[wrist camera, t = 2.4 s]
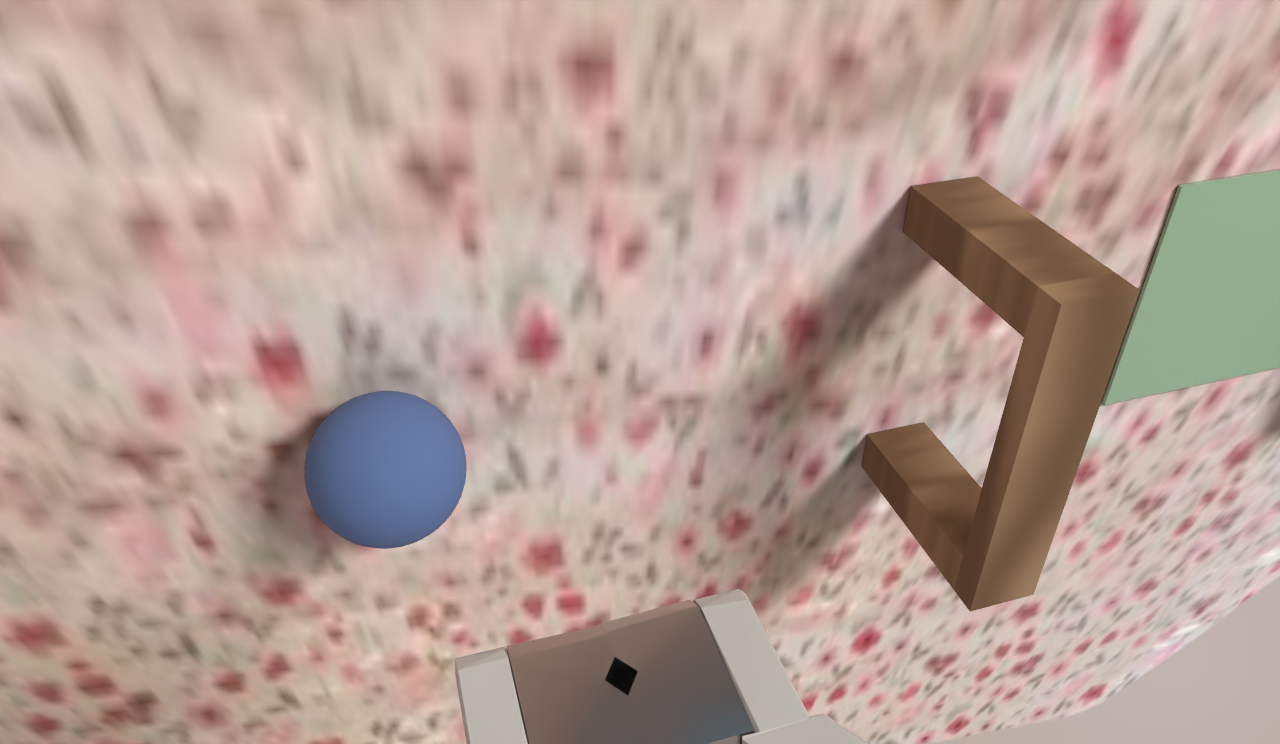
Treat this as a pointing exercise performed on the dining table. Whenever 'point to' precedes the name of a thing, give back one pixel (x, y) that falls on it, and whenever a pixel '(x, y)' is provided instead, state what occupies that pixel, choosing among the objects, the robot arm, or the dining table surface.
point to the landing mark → (1207, 291)
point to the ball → (385, 469)
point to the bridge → (1037, 400)
